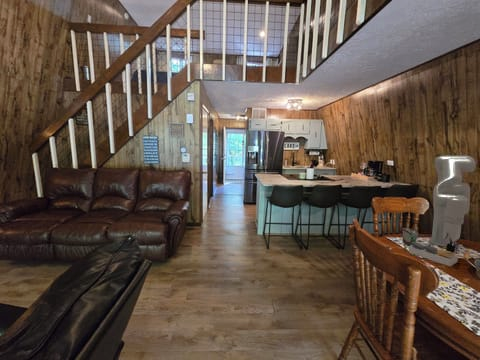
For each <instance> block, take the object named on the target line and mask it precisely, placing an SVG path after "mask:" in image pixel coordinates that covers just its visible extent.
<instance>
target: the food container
mask: <svg viewBox="0 0 480 360" xmlns="http://www.w3.org/2000/svg"><path fill="white" fill-rule="evenodd" d="M418 237H419V232H418V231H417V230H415V229H412V228H407V227H402V243H403V244H404V243H405V244H404V245H405V246H407V247H408V246H412V245H411V243H412V242H414V241H415V242H417V238H418Z"/></svg>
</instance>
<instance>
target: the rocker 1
mask: <svg viewBox="0 0 480 360" xmlns="http://www.w3.org/2000/svg"><path fill="white" fill-rule="evenodd" d="M411 245H412V246H414V247H415V248H417V249H418V248H419V249H423V247H424V246H425V245H424V244H422V243H419V242H417V241H416V242H415V241H414V242H412V243H411Z"/></svg>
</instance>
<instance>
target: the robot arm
mask: <svg viewBox="0 0 480 360" xmlns="http://www.w3.org/2000/svg"><path fill="white" fill-rule="evenodd" d="M476 165H477V164H476V160H475V159H474V158H473V157H472V156H471V155H439V156H437V157H435V158H434V168H435V170H436V173H437V183H436V184H435V186H434V188H433V191H432V201H433V202H432V206H433V220H432V221H433V223H432V231H431V232H432V234H431V238H428V242H429V243H430V244H432V245H434V246H435V245H436V246H439V247H445V248H446V249H445V251H447V252H450V253H453V254H454V253H455V251H456V246H457V245H456V243H457V240H459V239H460V238H461V232H462V225H464V221H465V215H466V214H469V211H470V207H471V205H470V204H471V186H470V185H469V183H465V182H463V173H473V172H474V171H475V170H476V167H477V166H476Z"/></svg>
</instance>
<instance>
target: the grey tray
mask: <svg viewBox="0 0 480 360" xmlns="http://www.w3.org/2000/svg"><path fill="white" fill-rule="evenodd" d="M436 249H437V248H436ZM437 250H439V249H437ZM408 252H409V254H412V255H414V254H415V255H414V256H417V255H419V256H418V257H420V256H421V257H420V258H423V257H424V258H423V259H426V258H427V260H429V261H432V262H435V263H438V264H441V265H444V266H447V267H452V266H453V265H455V264H456V263H458V259H459V255H458V254H455V253H453V256H451V257H450V258H449V257H444V256H441V255H440V254H437V253H435V254H434V253H432V252H431V253H430V252H428V251H427V250H425V249H419V248H418V249H417V248H415V247H414V246H409V247H408Z"/></svg>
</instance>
